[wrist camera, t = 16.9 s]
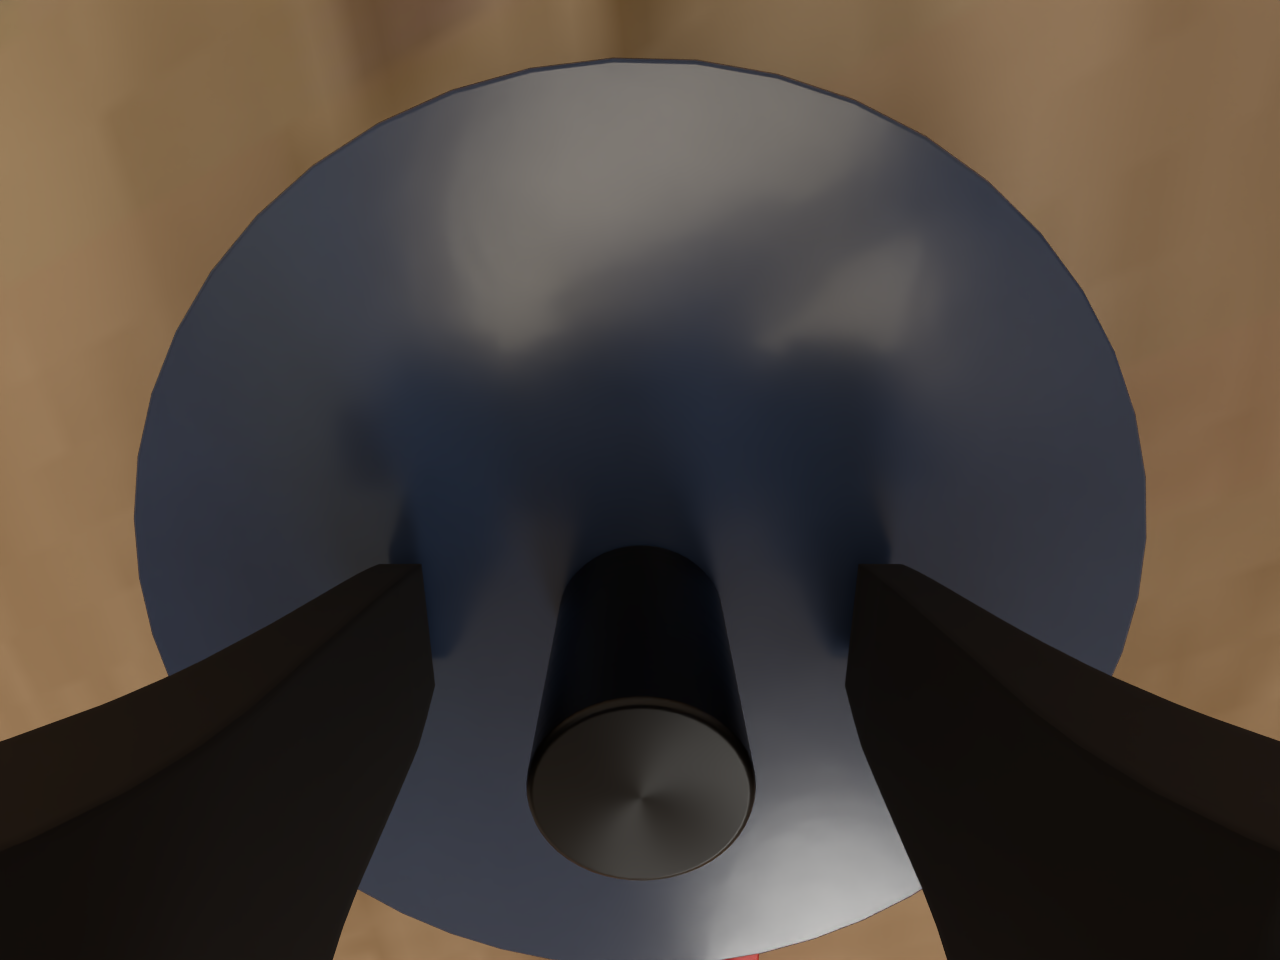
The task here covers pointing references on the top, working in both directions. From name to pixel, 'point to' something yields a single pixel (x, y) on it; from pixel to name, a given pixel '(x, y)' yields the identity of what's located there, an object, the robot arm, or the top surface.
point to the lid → (640, 478)
